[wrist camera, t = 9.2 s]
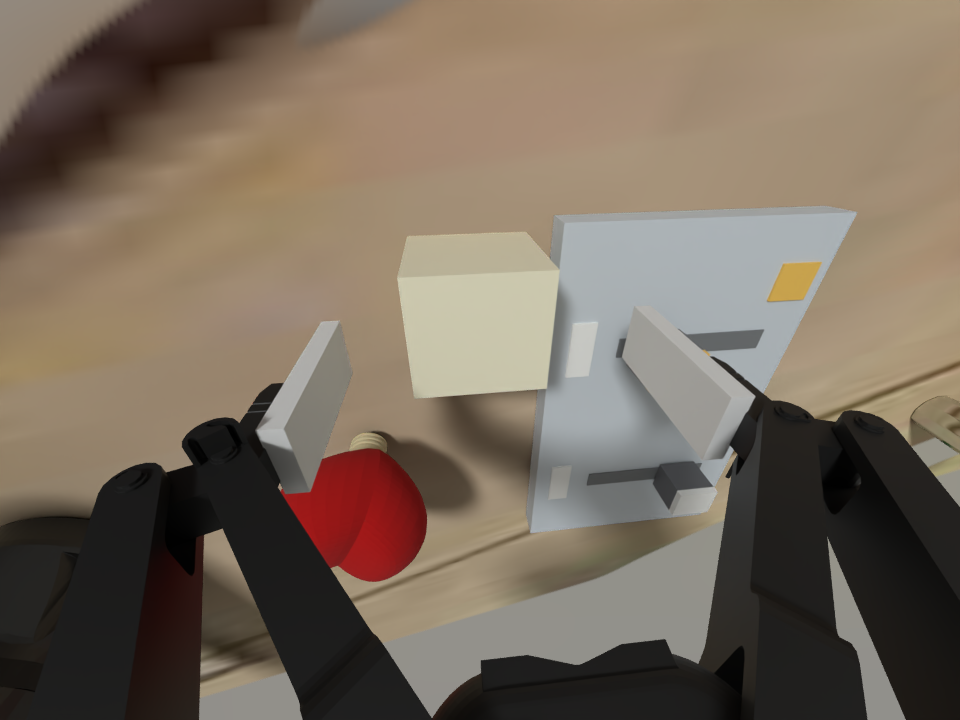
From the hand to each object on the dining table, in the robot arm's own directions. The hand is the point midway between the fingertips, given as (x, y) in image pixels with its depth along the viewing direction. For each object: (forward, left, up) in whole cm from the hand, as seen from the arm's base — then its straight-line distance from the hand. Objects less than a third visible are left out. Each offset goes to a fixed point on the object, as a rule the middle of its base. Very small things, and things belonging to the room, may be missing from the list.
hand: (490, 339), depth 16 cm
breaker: (+17, -17, -5) cm, 24 cm away
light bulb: (-8, -12, -7) cm, 16 cm away
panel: (+13, -10, -7) cm, 18 cm away
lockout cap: (0, 0, -7) cm, 7 cm away
